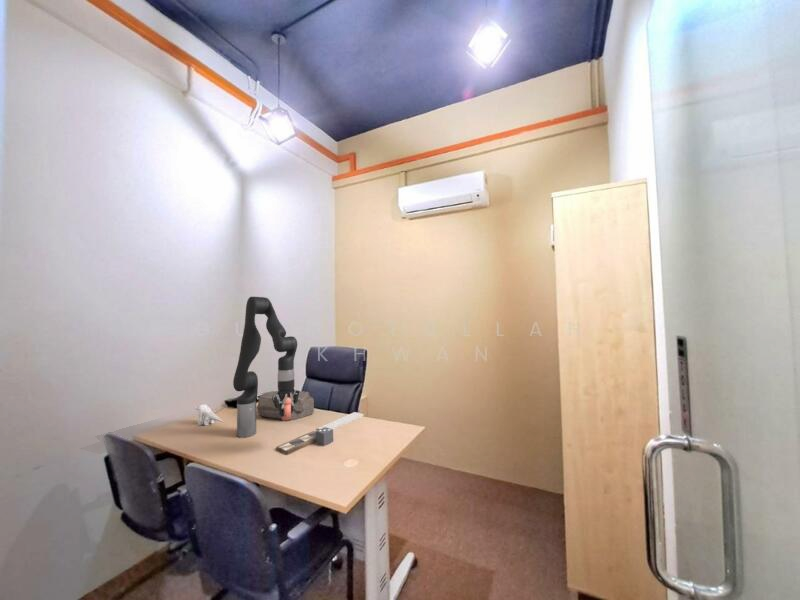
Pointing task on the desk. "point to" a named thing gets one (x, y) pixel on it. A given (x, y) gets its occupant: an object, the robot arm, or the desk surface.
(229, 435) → the desk surface
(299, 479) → the desk surface
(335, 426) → the baseboard
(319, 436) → the die
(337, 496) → the desk surface
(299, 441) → the game strip
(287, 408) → the pawn
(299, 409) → the stone
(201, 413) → the white dinosaur figurine
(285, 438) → the desk surface
